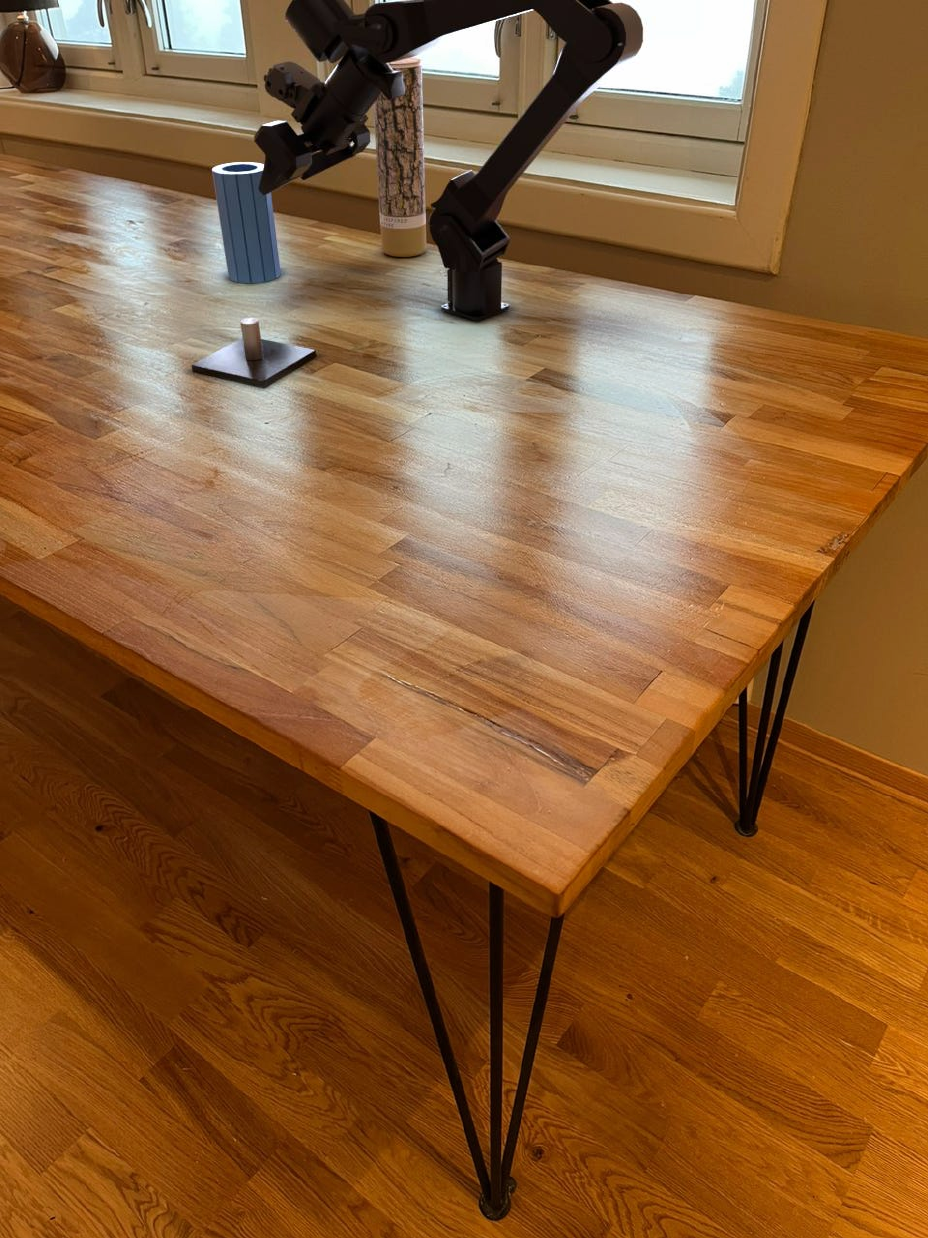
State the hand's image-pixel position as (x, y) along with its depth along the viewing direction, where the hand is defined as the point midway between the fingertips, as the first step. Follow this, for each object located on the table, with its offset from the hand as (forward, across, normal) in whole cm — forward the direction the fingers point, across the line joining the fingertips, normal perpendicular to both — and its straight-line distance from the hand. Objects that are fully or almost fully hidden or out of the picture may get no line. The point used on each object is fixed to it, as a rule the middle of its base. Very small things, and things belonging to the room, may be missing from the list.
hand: (281, 184), depth 122 cm
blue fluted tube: (+13, 0, +4) cm, 14 cm away
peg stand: (0, +27, +18) cm, 32 cm away
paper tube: (+4, -19, +14) cm, 24 cm away
